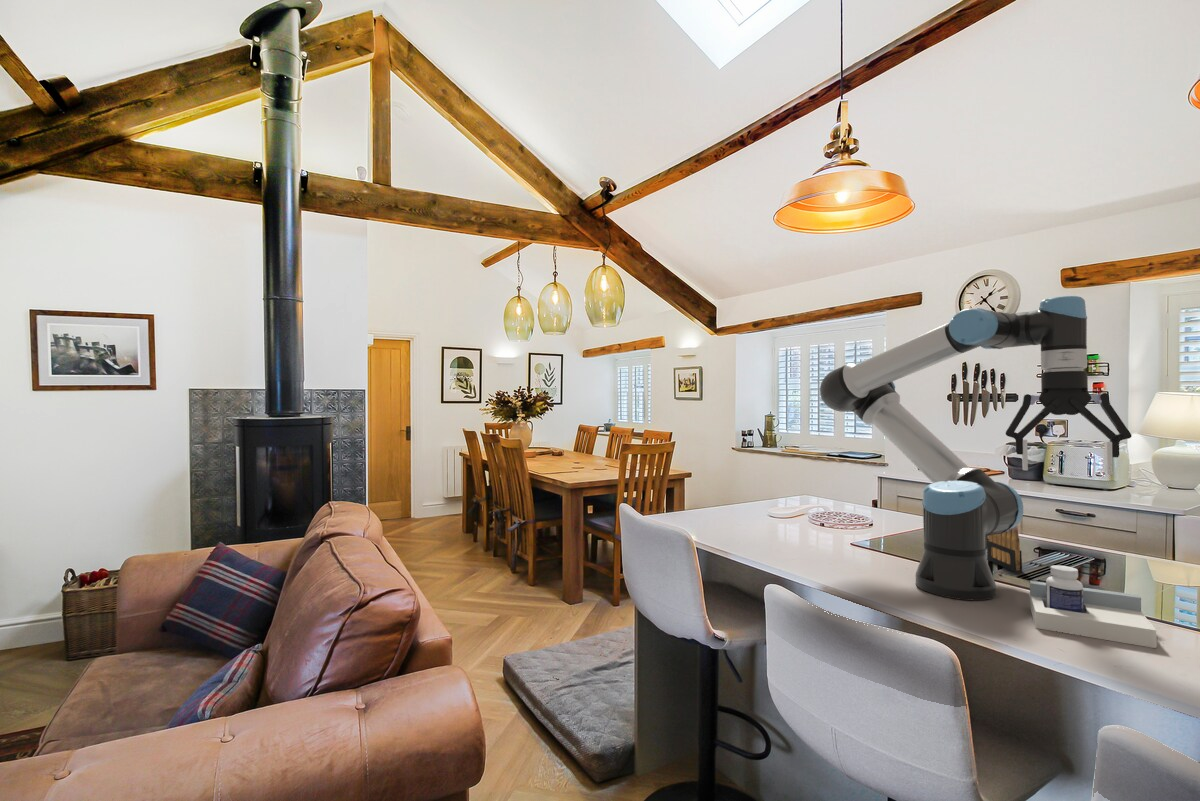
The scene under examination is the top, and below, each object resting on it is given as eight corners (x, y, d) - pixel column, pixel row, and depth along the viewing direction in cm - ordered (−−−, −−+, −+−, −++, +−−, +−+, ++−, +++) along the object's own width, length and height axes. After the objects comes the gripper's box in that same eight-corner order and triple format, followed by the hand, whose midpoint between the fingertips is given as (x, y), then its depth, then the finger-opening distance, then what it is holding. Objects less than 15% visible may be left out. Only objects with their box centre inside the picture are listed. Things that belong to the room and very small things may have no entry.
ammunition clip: (986, 559, 147) (986, 514, 148) (994, 559, 147) (993, 514, 147) (1014, 571, 137) (1013, 522, 137) (1022, 571, 137) (1021, 522, 137)
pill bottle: (1090, 626, 102) (1090, 573, 102) (1056, 624, 103) (1056, 571, 103) (1072, 615, 108) (1071, 564, 108) (1040, 613, 109) (1039, 563, 109)
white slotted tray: (1035, 628, 103) (1035, 597, 103) (1030, 608, 113) (1029, 580, 113) (1156, 648, 94) (1155, 615, 94) (1138, 624, 104) (1138, 594, 104)
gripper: (992, 372, 122) (993, 470, 121) (1150, 367, 108) (1152, 477, 108) (991, 373, 128) (992, 466, 128) (1140, 369, 114) (1142, 473, 114)
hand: (1065, 471), depth 118 cm, fingers open, 13 cm apart
